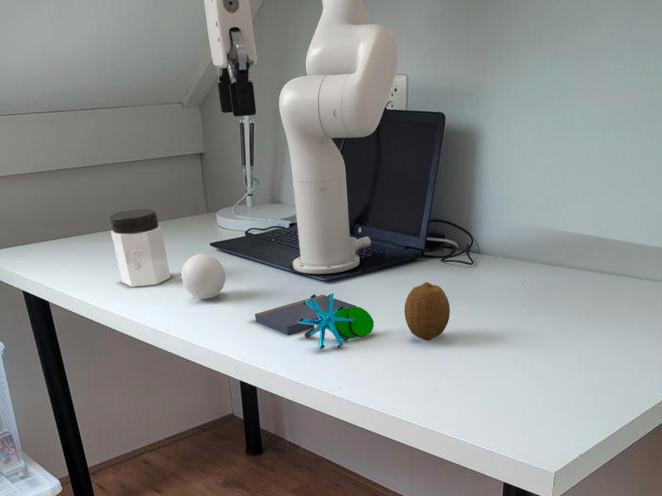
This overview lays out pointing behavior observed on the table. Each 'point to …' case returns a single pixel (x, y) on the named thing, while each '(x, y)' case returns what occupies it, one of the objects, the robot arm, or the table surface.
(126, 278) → the jar
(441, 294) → the fruit
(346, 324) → the stick construction toy
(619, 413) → the table surface
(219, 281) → the white sphere
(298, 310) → the notebook
